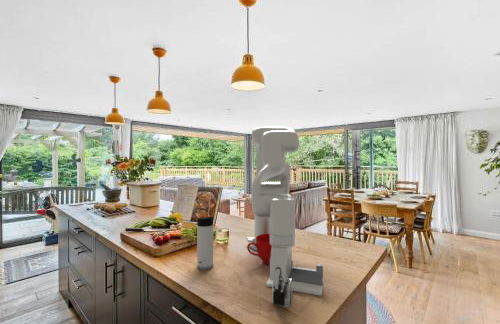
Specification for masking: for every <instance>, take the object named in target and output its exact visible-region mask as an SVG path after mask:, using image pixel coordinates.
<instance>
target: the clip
mask: <svg viewBox="0 0 500 324" xmlns="http://www.w3.org/2000/svg"><path fill="white" fill-rule="evenodd" d="M280 280H283V278H280ZM273 282H274V281H273ZM273 285H274V283H272V287H271V304H272V305H274V304H273ZM279 285H282V283H280V282H279ZM284 291H285V305H284V306H283V307H286V308H290V305H291V300H292V301H293V291H292V279H290V278H288V279H287V281H286V282H284Z"/></svg>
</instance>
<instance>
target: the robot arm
mask: <svg viewBox="0 0 500 324" xmlns="http://www.w3.org/2000/svg"><path fill="white" fill-rule="evenodd" d="M251 138H252V142H253V146H254V147H255V150H256V151H255V153H256V166H255V167H256V168H255V169H256V170H255V171H256V174H255V176H254V178H253V180H252V184H251V193H250V194H251V207H252V209H251V210H252V213H253V214H254V236H253V237H251V236H247V238H246V241H247V242H248V243H251V242H253V243H256V237H257V236H259V235H262V234H270V245H272V249H271V260H270V265H269V278H270V280H274V282H273V283H274V285H273V304H272V305H274V306H275V305H276V306H281V307H285V306H284V305H285V291H284V282H286V281H287V279H288V278H290V279H291V277H289V276H290V272H291V268H292V261H293V251H292V250H293V247H295V245H296V200H295V198H294V197H293V195H291V194H290V189H291V188H290V186H291V166H290V164H289V162H288V161H286V154H285V153H287V154H288V153H290V154H291V153H296V152H298V150H299V148H300V137H299V135H298V134H297V132H296V131H295V129H293V128H292V127H288V126H287V127H286V126H258V127H255V128H253V129H252V132H251ZM251 248H252V250H253V251H256V252H257V248H256V246H255V245H253V244H252V245H251ZM280 278H283V280H280ZM279 282H280V283H282V285H279Z"/></svg>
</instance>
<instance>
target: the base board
mask: <svg viewBox="0 0 500 324" xmlns="http://www.w3.org/2000/svg"><path fill="white" fill-rule="evenodd" d="M273 281H274V280H270V277H268V279H267V281H266V282H265V287H268V288H272V283H273ZM323 283H324V277H323ZM323 289H324V285H323V286H320V285H314V284H308V283H301V282H295V281H292V292H297V293H298V292H299V293H303V294H304V293H305V294H309V295H316V296H322V295H323Z"/></svg>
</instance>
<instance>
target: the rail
mask: <svg viewBox="0 0 500 324" xmlns="http://www.w3.org/2000/svg"><path fill="white" fill-rule="evenodd" d="M270 260H271V258H270ZM289 277H291V279H292V281H295V282H301V283H308V284H314V285H320V286H323V287H324V282H323V278H324V264H319V263H316V269H313V268H306V267H299V266H294V261H293V260H292V268H291V272H290V276H289Z"/></svg>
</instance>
